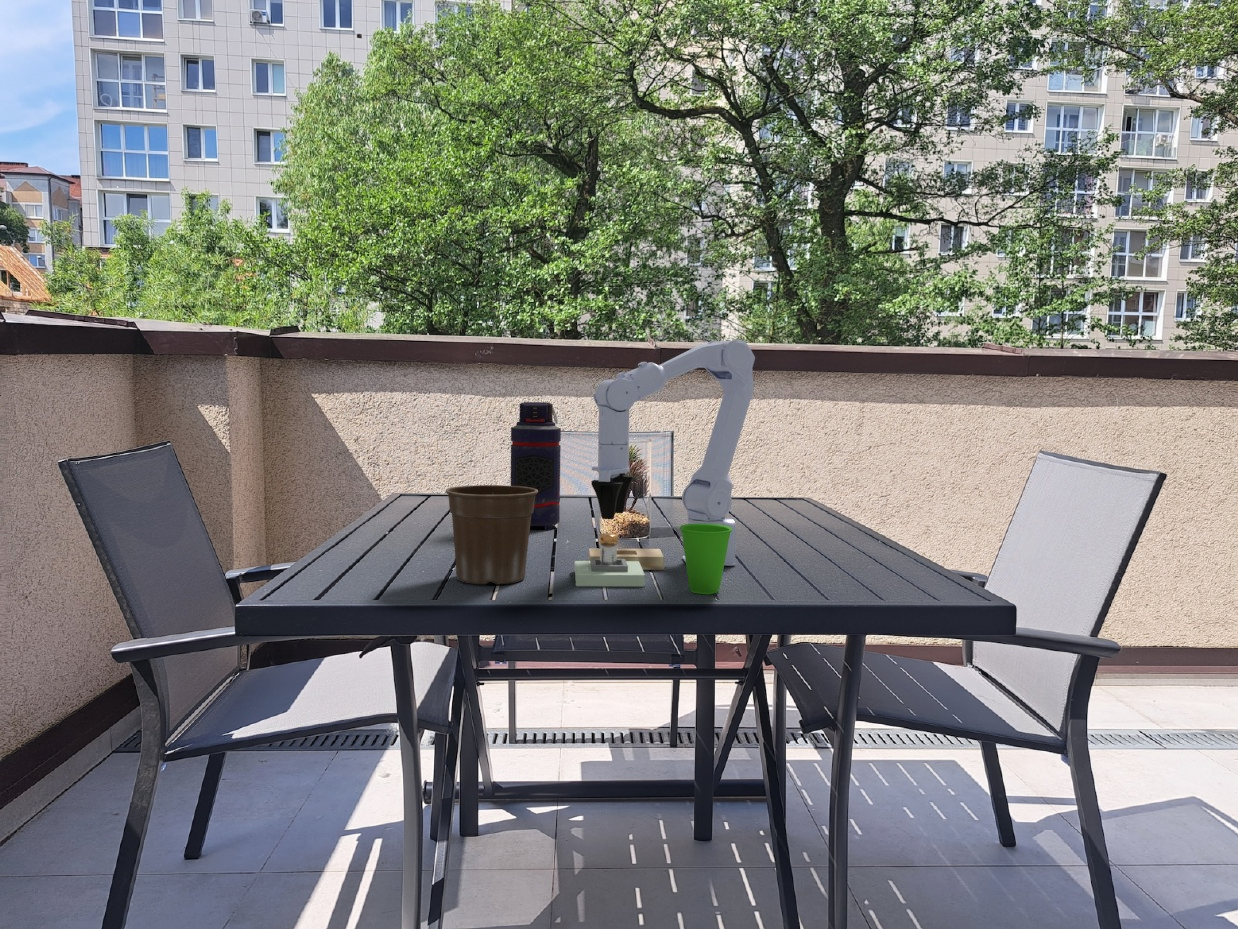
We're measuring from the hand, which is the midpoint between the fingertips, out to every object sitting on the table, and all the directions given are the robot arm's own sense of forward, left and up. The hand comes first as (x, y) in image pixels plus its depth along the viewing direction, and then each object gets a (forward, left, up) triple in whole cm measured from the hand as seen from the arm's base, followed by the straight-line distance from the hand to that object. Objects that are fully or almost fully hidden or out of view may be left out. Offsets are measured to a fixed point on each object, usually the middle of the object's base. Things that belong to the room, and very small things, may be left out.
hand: (612, 515), depth 171 cm
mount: (-3, -4, -10) cm, 12 cm away
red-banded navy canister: (+16, -50, -11) cm, 53 cm away
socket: (+1, +8, -10) cm, 13 cm away
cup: (-15, +17, -11) cm, 25 cm away
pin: (+1, +7, -10) cm, 13 cm away
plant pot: (+22, +8, -11) cm, 26 cm away
